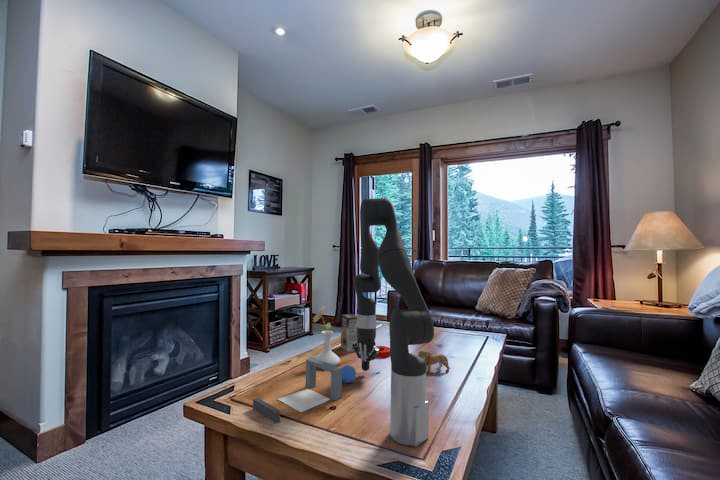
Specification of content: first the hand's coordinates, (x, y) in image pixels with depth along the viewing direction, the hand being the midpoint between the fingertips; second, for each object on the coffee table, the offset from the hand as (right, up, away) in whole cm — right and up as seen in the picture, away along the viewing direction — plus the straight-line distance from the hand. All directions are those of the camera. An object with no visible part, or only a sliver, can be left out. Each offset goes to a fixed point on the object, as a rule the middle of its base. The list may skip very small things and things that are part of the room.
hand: (365, 370), depth 131 cm
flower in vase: (-17, -2, +10) cm, 19 cm away
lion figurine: (+28, -3, +5) cm, 28 cm away
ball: (-7, +1, -7) cm, 10 cm away
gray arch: (-15, -1, -16) cm, 22 cm away
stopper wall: (-30, -1, -33) cm, 44 cm away
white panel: (-20, -1, -22) cm, 30 cm away
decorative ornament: (+7, -3, +26) cm, 27 cm away
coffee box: (-7, -3, +33) cm, 34 cm away
